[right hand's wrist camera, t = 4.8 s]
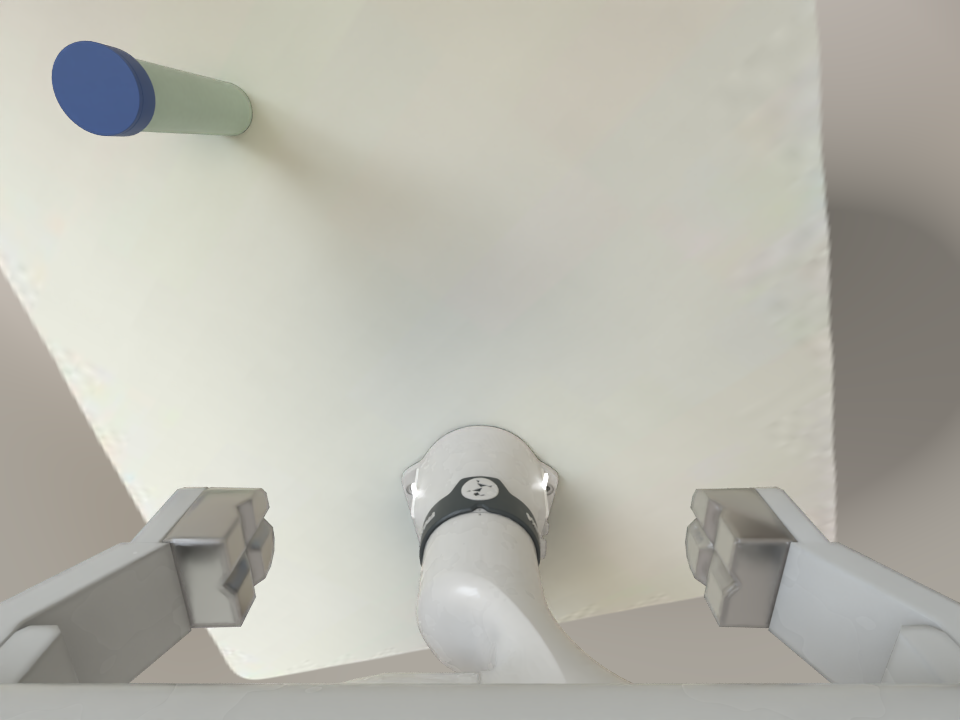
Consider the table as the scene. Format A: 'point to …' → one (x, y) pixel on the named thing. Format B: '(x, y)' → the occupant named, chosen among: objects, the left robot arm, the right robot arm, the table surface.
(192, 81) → the pale green cylinder
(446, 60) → the table surface
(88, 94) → the lid
